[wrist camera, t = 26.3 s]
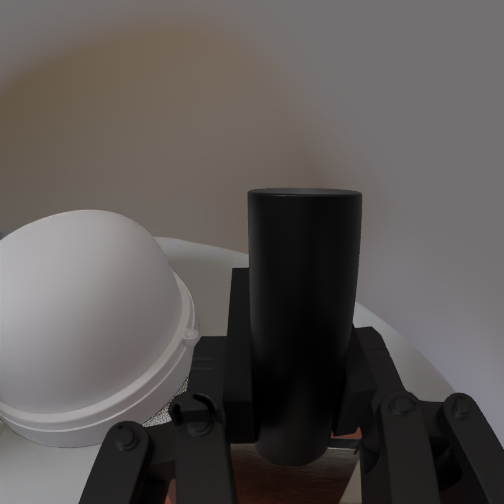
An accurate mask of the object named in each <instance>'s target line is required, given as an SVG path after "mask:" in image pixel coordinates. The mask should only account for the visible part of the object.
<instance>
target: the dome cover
mask: <svg viewBox="0 0 504 504" xmlns="http://www.w3.org/2000/svg"><path fill="white" fill-rule="evenodd" d="M199 340H200V327H199V321H198V317H197V313H196V310H195V306H194V303H193V299H192V296H191V294H190V292H189V290H188V288H187V287H186V285H185V284H184V282H183V281H182V280H181V278H180V277H179V276H178V275H177V274H176V273H175V272H174V271H173V270H172V269H171V267H170V265H169V262H168V260H167V258H166V256H165V254H164V253H163V251H162V249H161V248H160V246H159V245H158V243H157V242H156V240H155V239H154V238H153V236H152V235H151V234H150V233H148V232H147V231H146V230H145V229H144V228H143V227H142V226H141V225H139V224H138V223H136V222H135V221H133V220H132V219H129V218H127V217H125V216H123V215H120V214H117V213H114V212H109V211H102V210H76V211H69V212H64V213H59V214H55V215H51V216H48V217H45V218H42V219H39V220H37V221H34V222H32V223H30V224H27V225H25V226H23V227H21V228H19V229H17V230H16V231H14V232H12V233H10V234H9V235H7V236H6V237H4V238H3V239H1V240H0V418H1V419H2V420H3V421H4V423H5V424H6V425H8V426H9V427H10V428H11V429H12V430H13V431H15V432H16V433H17V434H19V435H21V436H22V437H24V438H26V439H28V440H31V441H33V442H36V443H39V444H42V445H46V446H52V447H60V448H75V447H85V446H90V445H95V444H99V443H103V441H104V438H105V436H106V434H107V432H108V431H109V429H110V428H111V427H112V426H113V425H115V424H116V423H118V422H122V421H125V420H126V421H135V422H137V423H139V424H141V425H142V424H143V423H144V422H146V421H147V420H148V419H150V418H151V417H153V416H154V415H155V414H156V413H157V412H158V411H160V410H161V409H162V408H163V407H164V406H165V405H166V404H167V403H168V402H169V401H170V400H171V399H172V398H173V396H174V395H175V394H176V393H177V391H178V390H179V389H180V387H181V386H182V385H183V383H184V381H185V380H186V378H187V377H188V375H189V373H190V370H191V368H190V367H191V362H192V356H193V351H194V346H195V345H196V344H197V342H198V341H199Z"/></svg>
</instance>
